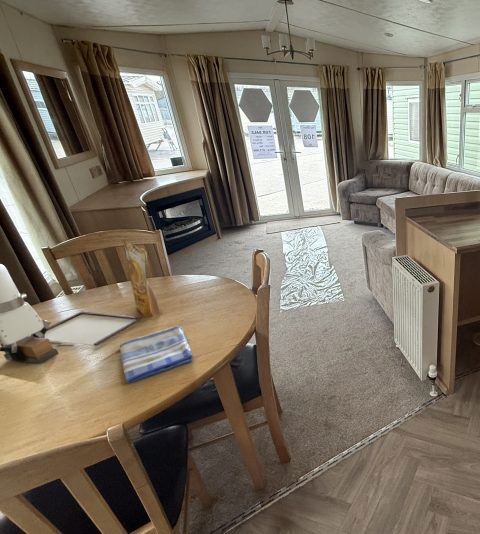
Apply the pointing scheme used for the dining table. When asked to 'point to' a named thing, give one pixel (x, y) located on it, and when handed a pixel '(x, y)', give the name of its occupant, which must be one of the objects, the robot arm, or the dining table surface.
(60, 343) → the stroke
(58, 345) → the stroke
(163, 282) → the dining table surface
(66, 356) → the dining table surface
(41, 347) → the eraser
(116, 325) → the memo board
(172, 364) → the dish towel
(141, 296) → the pancake mix bag
